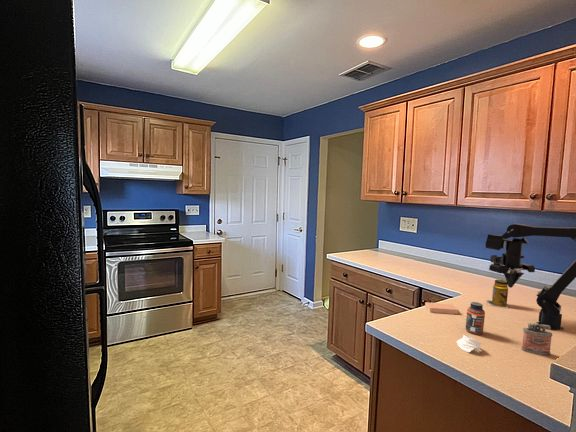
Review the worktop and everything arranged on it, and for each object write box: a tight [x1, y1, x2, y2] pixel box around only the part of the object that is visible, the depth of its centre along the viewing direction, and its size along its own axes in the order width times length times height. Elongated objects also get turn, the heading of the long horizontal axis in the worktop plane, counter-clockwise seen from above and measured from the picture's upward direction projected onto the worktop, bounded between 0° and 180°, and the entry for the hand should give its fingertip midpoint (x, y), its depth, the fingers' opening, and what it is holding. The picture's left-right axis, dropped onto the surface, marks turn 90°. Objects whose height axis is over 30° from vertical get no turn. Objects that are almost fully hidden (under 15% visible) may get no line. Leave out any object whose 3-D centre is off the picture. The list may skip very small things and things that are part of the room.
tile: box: [424, 301, 459, 315], centre depth 145 cm, size 2×7×12 cm
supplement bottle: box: [465, 301, 486, 335], centre depth 123 cm, size 6×6×11 cm
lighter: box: [520, 322, 553, 357], centre depth 108 cm, size 8×3×10 cm, turn 69°
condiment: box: [486, 279, 509, 309], centre depth 154 cm, size 7×8×12 cm
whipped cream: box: [456, 334, 483, 353], centre depth 110 cm, size 8×7×5 cm
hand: (510, 287), depth 139 cm, fingers closed
